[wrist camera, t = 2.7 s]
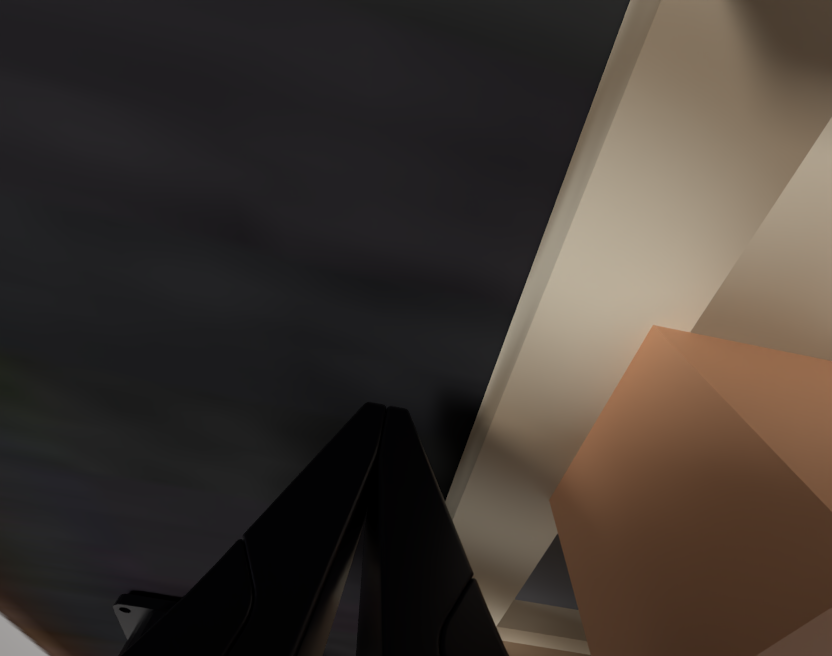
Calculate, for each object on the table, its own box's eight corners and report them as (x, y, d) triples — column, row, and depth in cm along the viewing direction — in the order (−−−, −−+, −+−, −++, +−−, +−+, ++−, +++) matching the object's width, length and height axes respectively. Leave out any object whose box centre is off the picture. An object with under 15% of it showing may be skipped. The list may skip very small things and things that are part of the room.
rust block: (744, 535, 10) (925, 793, 6) (549, 500, 10) (615, 745, 6) (916, 378, 8) (1412, 663, 4) (652, 324, 7) (888, 571, 3)
